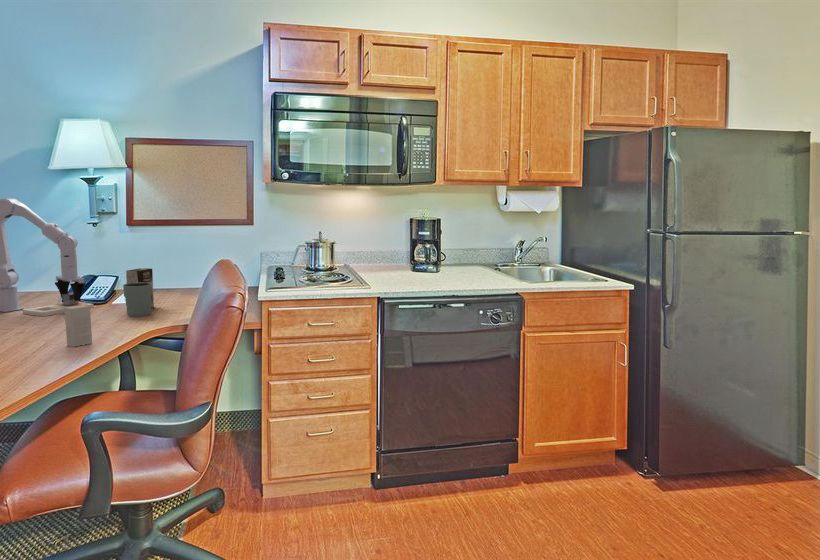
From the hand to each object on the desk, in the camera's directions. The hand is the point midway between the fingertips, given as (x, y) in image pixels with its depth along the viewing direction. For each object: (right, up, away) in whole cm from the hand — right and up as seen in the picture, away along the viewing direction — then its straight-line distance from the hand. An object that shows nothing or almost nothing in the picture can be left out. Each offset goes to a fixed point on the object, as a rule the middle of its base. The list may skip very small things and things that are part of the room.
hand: (71, 299), depth 263 cm
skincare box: (+34, -12, -61) cm, 71 cm away
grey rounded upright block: (+32, -6, -11) cm, 34 cm away
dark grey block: (0, -4, 0) cm, 4 cm away
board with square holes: (-2, -4, -4) cm, 7 cm away
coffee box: (+27, -4, +2) cm, 28 cm away
